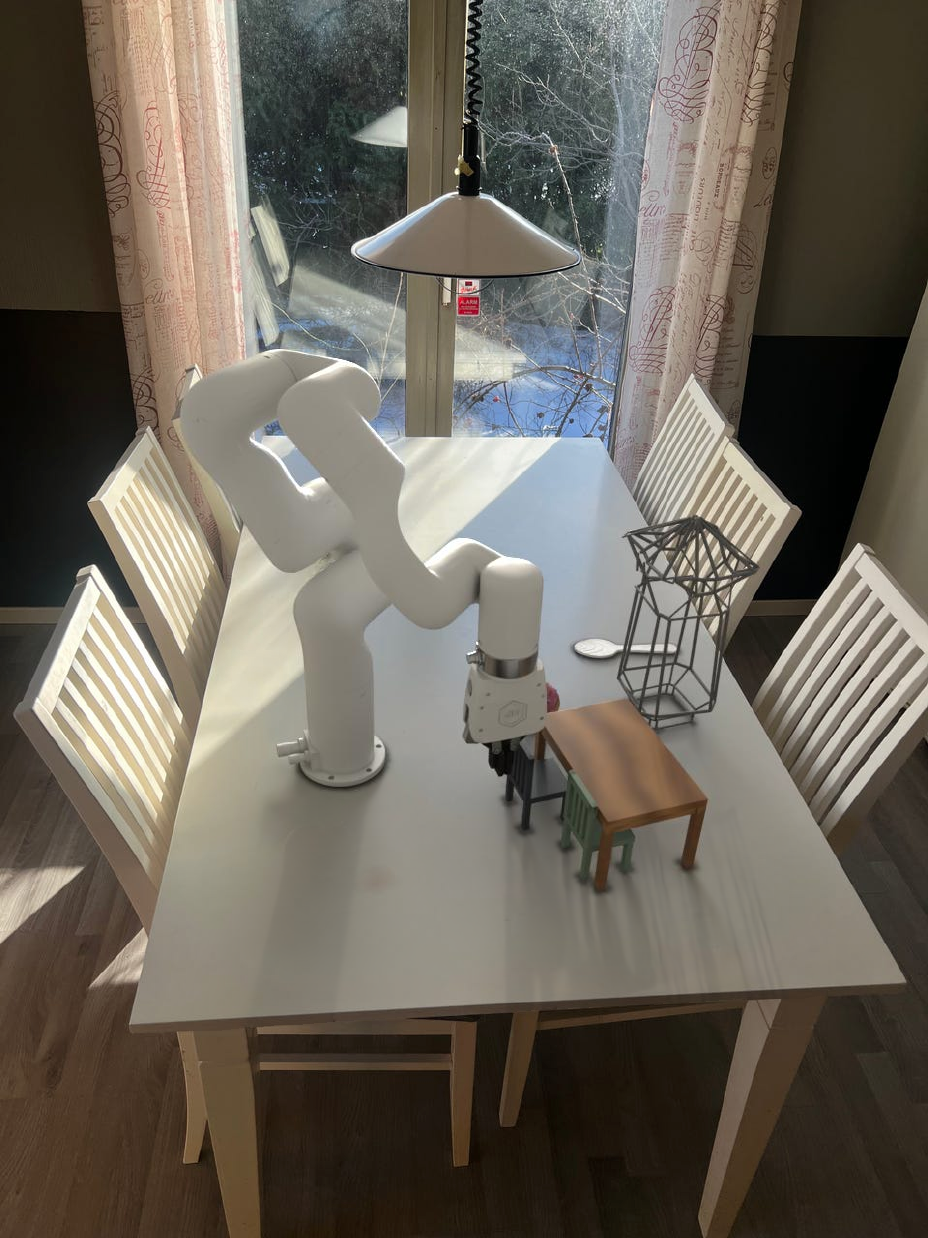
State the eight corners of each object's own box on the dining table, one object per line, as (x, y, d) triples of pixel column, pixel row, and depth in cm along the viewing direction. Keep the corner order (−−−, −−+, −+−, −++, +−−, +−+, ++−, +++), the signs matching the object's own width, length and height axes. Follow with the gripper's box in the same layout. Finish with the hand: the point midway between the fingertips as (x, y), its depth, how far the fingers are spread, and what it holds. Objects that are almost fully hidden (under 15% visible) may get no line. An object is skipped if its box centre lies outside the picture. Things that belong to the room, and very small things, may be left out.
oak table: (597, 891, 126) (607, 822, 120) (531, 780, 144) (537, 715, 137) (693, 866, 131) (708, 798, 124) (617, 761, 148) (627, 697, 142)
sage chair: (581, 881, 127) (592, 807, 121) (559, 843, 133) (568, 770, 126) (630, 868, 130) (643, 795, 123) (606, 832, 135) (617, 760, 128)
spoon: (679, 658, 172) (680, 655, 171) (576, 657, 171) (577, 655, 170) (673, 641, 176) (673, 638, 176) (572, 640, 175) (573, 638, 175)
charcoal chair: (522, 831, 135) (529, 759, 128) (503, 798, 140) (509, 727, 133) (569, 821, 137) (578, 749, 130) (549, 788, 142) (556, 717, 135)
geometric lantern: (683, 679, 166) (719, 489, 148) (728, 737, 154) (773, 537, 135) (596, 691, 163) (622, 497, 144) (634, 752, 150) (668, 548, 131)
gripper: (459, 682, 117) (456, 799, 127) (575, 662, 121) (563, 776, 131) (440, 648, 123) (438, 762, 133) (551, 630, 127) (541, 741, 137)
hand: (500, 769), depth 132 cm, fingers closed
